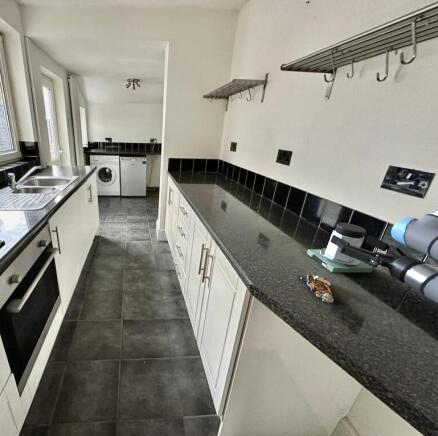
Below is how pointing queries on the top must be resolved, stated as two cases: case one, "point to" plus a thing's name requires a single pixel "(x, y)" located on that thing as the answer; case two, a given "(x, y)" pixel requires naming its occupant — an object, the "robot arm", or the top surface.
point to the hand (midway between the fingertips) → (350, 238)
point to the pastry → (320, 287)
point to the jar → (348, 234)
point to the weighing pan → (340, 262)
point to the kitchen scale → (336, 267)
